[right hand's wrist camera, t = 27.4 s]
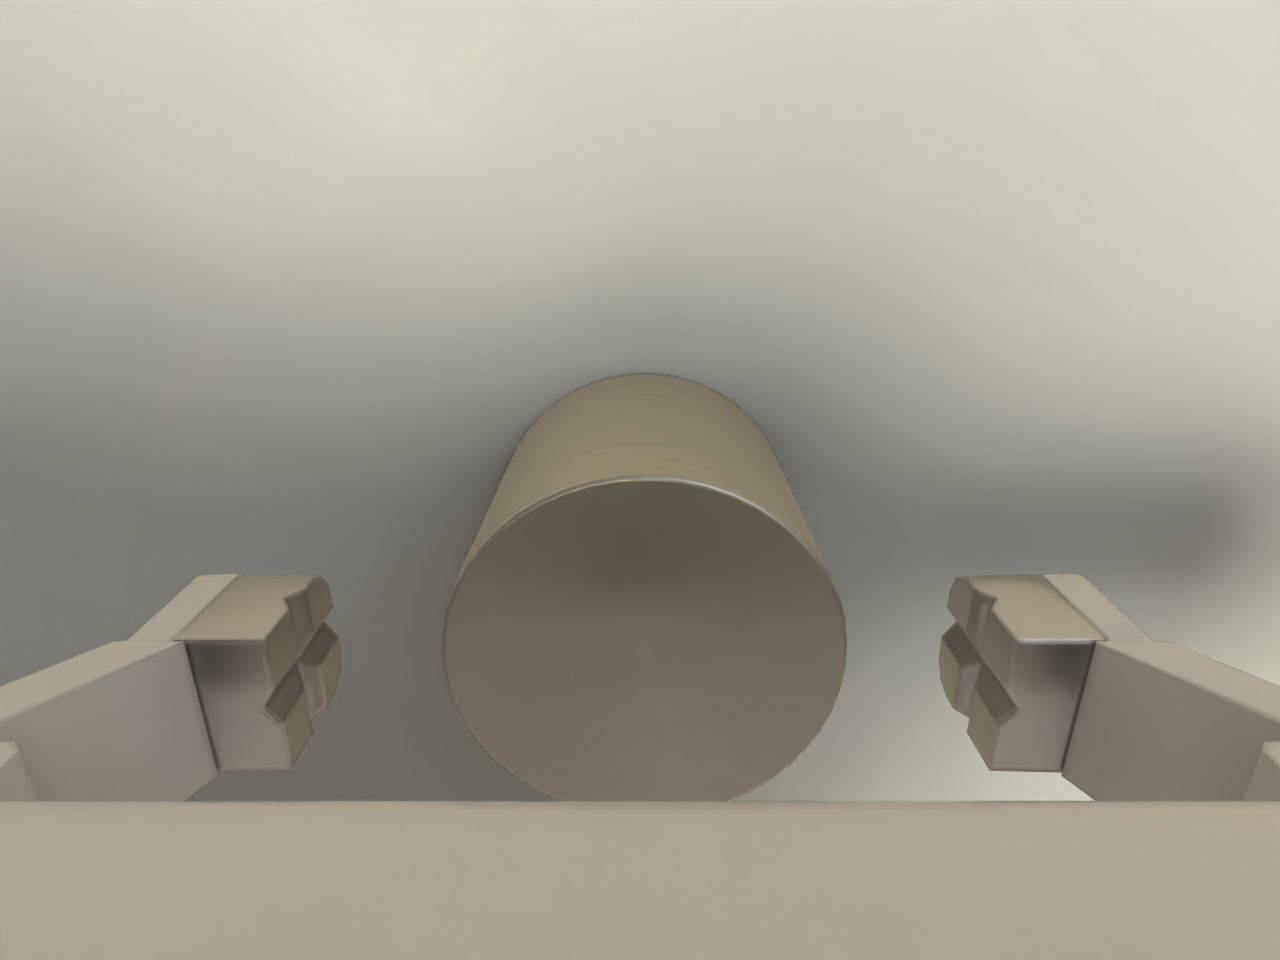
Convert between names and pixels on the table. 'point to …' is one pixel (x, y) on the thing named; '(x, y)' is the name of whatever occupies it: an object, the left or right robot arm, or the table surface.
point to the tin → (644, 603)
